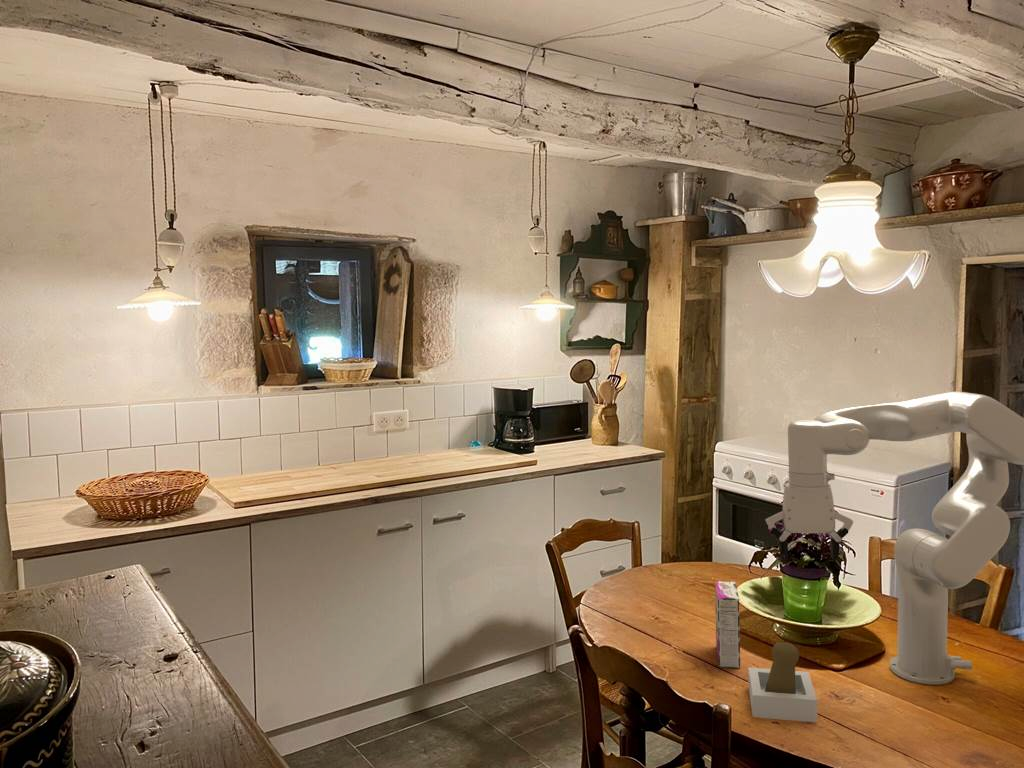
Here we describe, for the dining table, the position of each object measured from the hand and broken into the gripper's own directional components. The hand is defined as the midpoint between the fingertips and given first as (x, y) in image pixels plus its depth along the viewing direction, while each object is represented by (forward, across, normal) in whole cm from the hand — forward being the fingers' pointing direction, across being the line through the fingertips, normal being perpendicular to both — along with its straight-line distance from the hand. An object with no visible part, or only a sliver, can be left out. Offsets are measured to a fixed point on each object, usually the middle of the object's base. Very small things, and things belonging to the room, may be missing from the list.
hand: (809, 558), depth 163 cm
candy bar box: (+27, +17, -9) cm, 34 cm away
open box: (+28, +8, +11) cm, 31 cm away
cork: (+25, +8, +11) cm, 29 cm away
